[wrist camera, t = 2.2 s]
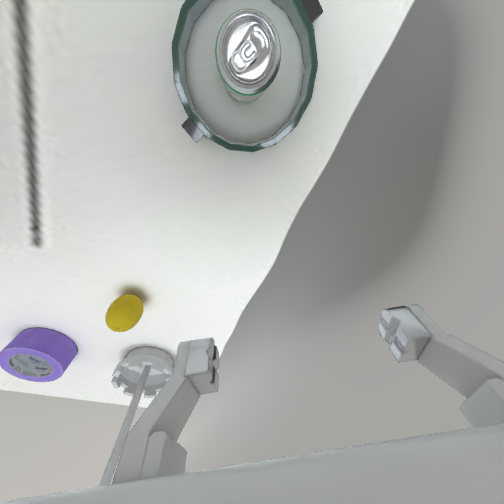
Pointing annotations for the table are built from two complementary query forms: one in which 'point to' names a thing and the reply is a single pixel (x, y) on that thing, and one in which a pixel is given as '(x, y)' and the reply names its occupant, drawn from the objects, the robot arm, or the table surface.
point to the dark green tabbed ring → (302, 16)
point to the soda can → (247, 54)
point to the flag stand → (137, 390)
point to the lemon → (124, 313)
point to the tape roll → (38, 355)
